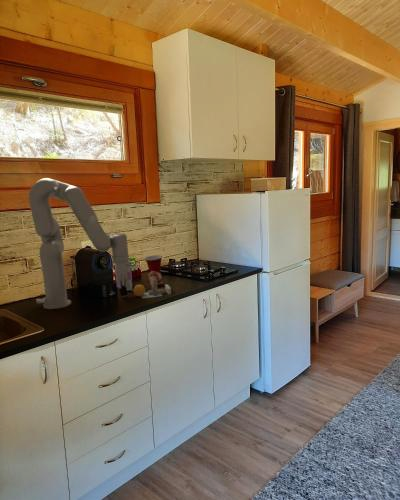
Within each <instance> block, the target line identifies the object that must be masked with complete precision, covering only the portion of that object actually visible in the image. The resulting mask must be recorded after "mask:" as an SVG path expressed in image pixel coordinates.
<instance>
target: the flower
mask: <svg viewBox="0 0 400 500" xmlns="http://www.w3.org/2000/svg"><path fill="white" fill-rule="evenodd" d="M150 277H155V279H157V286H159V287H161V286H162V284H163V283H164V278H163V277H162V274H161V272H160V273H158V272H155V271H151V272H149V273H148V274H147V279H148V282H146V283H147V284H149V285H150V286H151V278H150Z"/></svg>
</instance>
